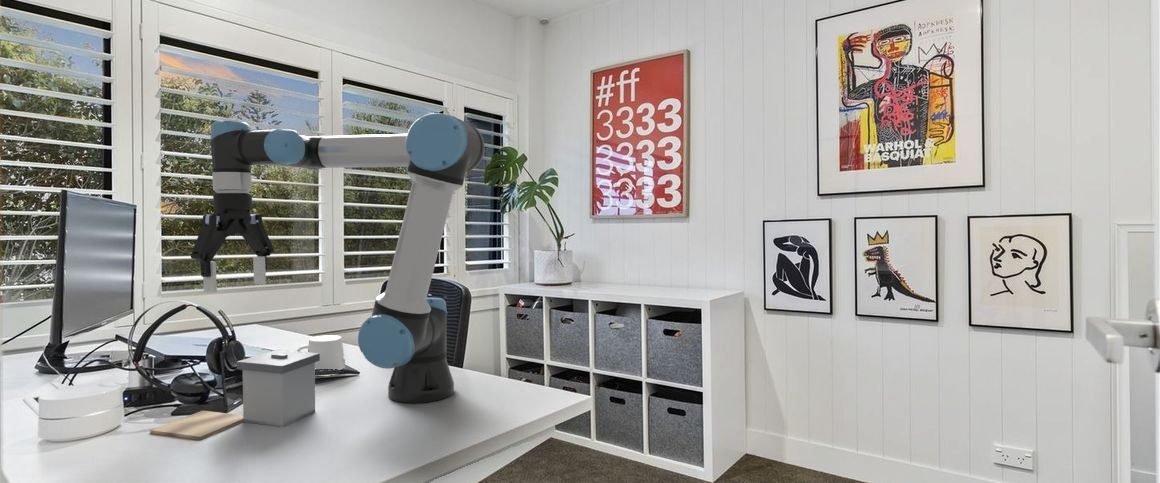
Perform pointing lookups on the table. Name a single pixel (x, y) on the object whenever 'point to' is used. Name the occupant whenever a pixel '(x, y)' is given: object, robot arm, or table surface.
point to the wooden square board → (199, 425)
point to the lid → (278, 361)
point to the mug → (327, 351)
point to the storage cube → (278, 396)
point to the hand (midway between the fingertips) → (236, 288)
